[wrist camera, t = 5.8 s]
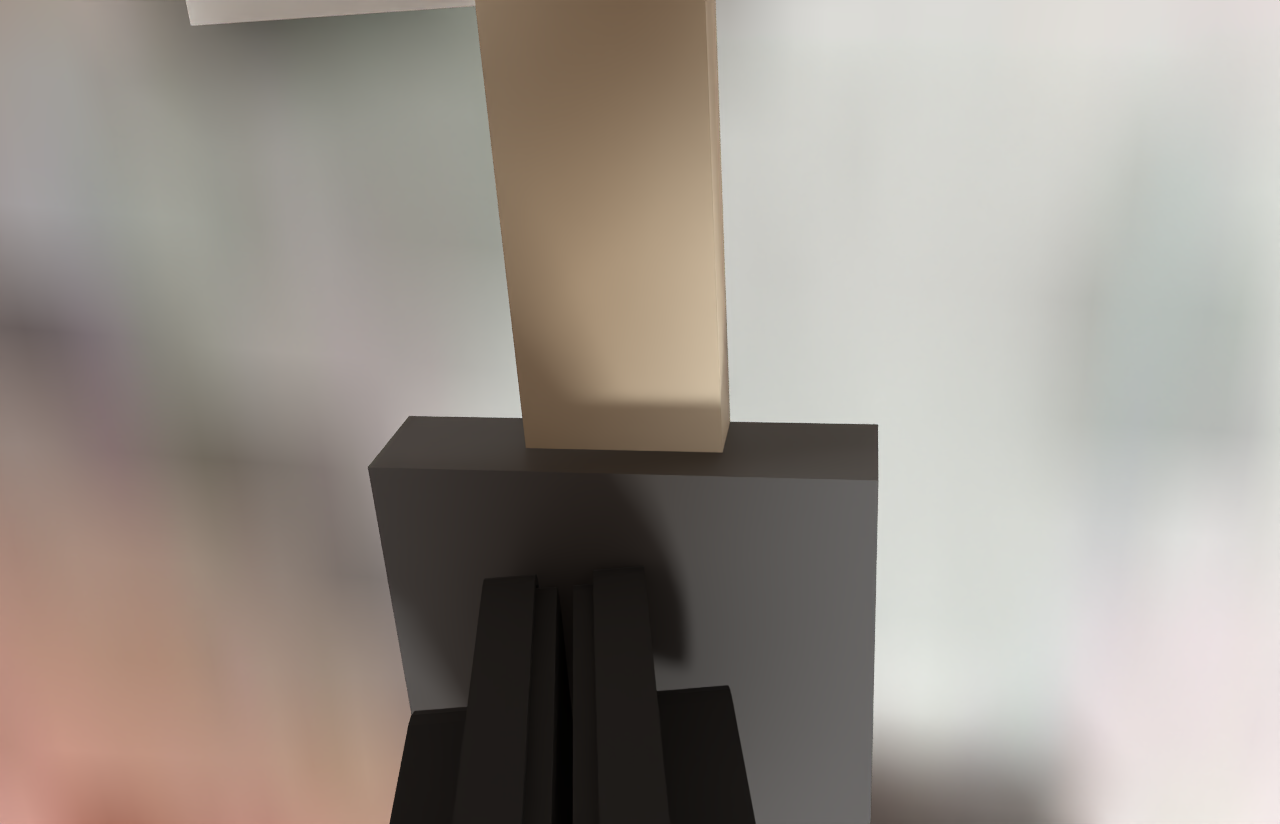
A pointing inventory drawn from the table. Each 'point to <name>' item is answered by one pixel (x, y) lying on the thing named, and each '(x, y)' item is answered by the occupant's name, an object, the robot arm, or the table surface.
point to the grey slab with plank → (640, 417)
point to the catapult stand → (301, 8)
